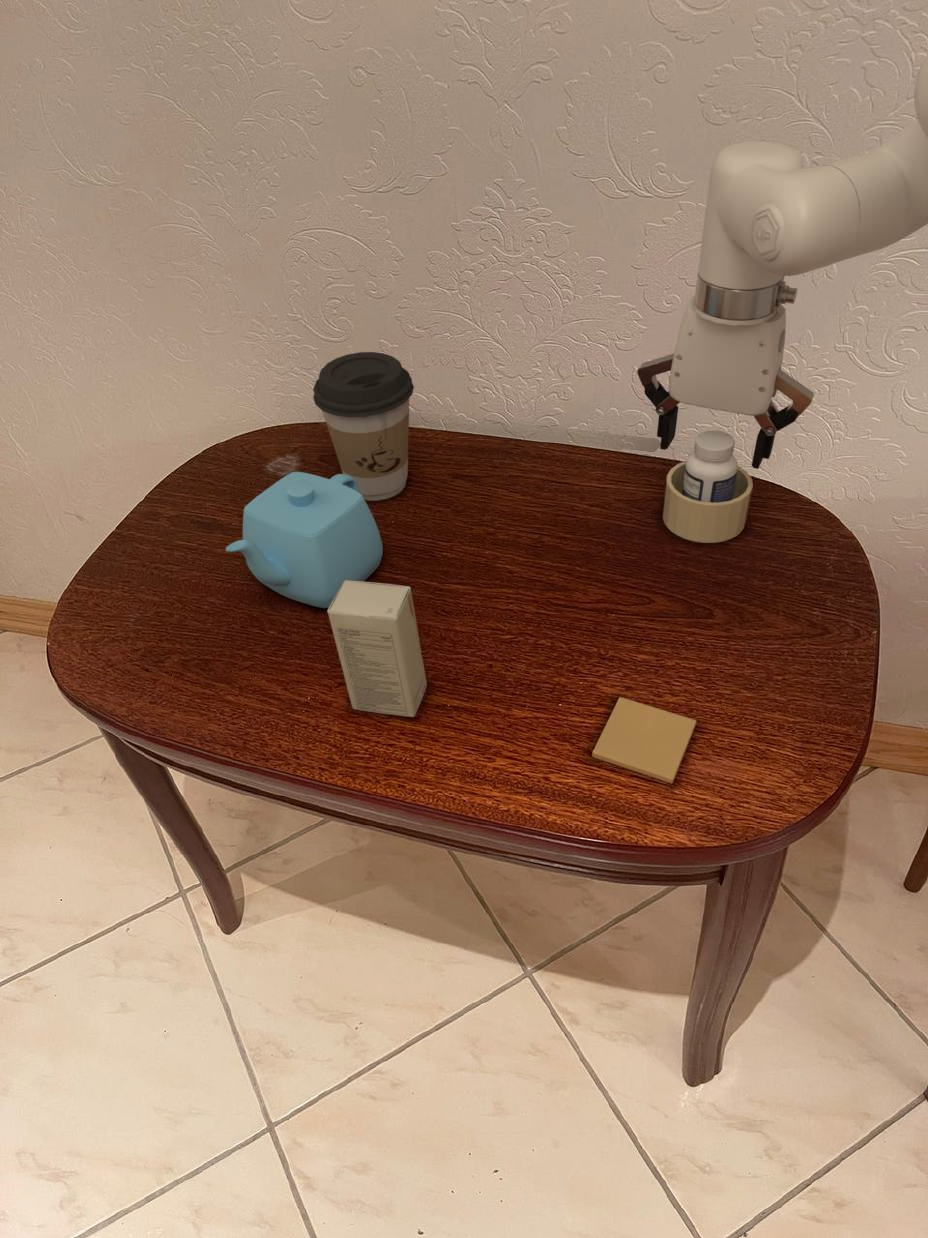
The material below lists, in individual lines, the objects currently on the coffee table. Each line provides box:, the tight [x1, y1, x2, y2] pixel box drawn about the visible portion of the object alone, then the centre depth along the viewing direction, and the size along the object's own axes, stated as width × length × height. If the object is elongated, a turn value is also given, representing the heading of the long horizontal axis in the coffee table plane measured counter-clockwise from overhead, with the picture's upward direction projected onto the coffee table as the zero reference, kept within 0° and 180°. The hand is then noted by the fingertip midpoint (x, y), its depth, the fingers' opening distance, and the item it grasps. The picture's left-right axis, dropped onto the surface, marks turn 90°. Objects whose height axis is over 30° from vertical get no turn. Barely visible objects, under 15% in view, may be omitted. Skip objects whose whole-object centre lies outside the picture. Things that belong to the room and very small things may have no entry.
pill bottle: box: [682, 430, 739, 503], centre depth 96 cm, size 5×5×10 cm
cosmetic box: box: [326, 580, 428, 718], centre depth 78 cm, size 6×4×12 cm
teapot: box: [225, 471, 384, 609], centre depth 91 cm, size 12×18×12 cm
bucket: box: [662, 460, 754, 544], centre depth 97 cm, size 9×9×5 cm
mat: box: [591, 696, 697, 785], centre depth 76 cm, size 7×7×1 cm
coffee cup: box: [312, 351, 415, 502], centre depth 103 cm, size 11×11×15 cm
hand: (711, 452), depth 94 cm, fingers open, 9 cm apart
